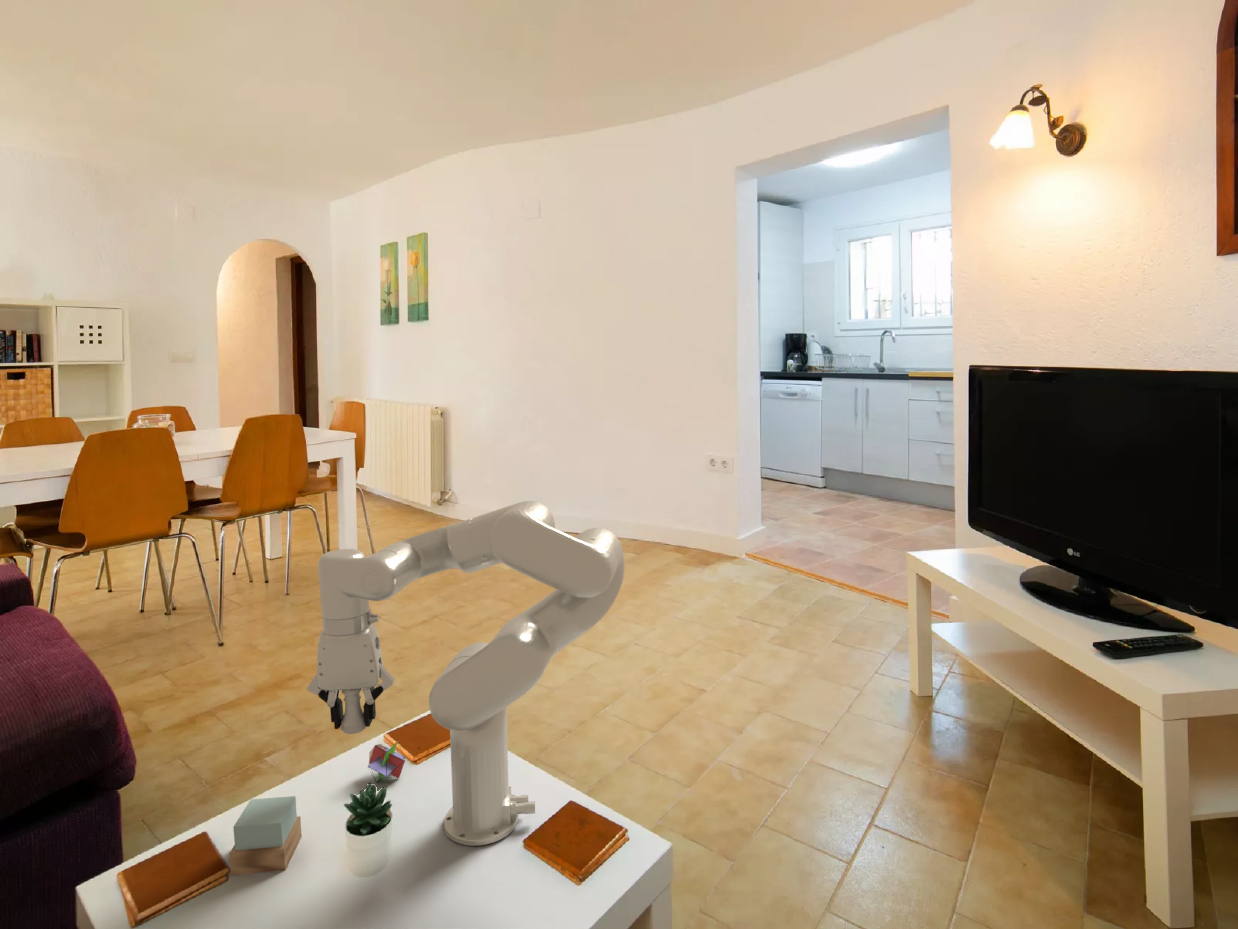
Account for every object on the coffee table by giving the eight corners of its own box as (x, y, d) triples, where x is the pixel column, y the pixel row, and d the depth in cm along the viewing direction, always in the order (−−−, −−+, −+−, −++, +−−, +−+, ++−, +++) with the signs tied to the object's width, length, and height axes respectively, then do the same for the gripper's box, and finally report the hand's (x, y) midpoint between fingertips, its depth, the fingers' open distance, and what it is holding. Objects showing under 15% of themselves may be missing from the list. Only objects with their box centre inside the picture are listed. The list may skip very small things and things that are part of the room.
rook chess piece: (359, 736, 118) (355, 691, 117) (335, 733, 119) (331, 689, 118) (373, 723, 122) (370, 679, 121) (350, 721, 123) (347, 678, 122)
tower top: (296, 818, 116) (295, 795, 116) (282, 846, 109) (281, 822, 109) (252, 822, 115) (250, 799, 115) (235, 850, 108) (233, 826, 108)
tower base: (301, 838, 117) (300, 816, 117) (285, 872, 109) (283, 848, 109) (251, 842, 116) (249, 820, 116) (231, 876, 108) (229, 853, 108)
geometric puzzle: (421, 760, 136) (397, 727, 136) (402, 780, 129) (377, 745, 130) (395, 777, 138) (372, 744, 138) (376, 798, 131) (351, 763, 131)
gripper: (401, 612, 123) (408, 710, 125) (302, 618, 121) (310, 717, 123) (393, 627, 115) (400, 731, 118) (287, 634, 114) (296, 739, 116)
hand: (354, 723), depth 121 cm, fingers closed on rook chess piece, 4 cm apart
